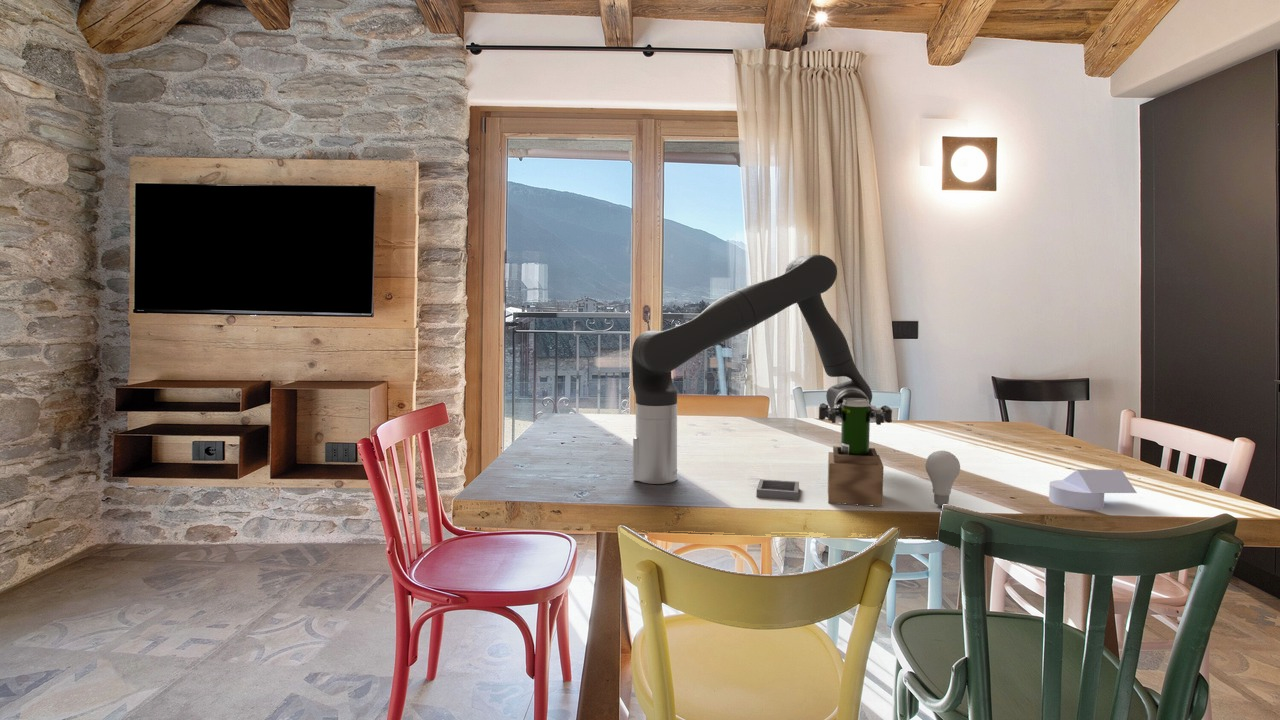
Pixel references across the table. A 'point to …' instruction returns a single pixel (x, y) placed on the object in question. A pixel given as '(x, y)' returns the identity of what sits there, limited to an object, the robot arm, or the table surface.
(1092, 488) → the wedge on round base
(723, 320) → the robot arm
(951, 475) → the lightbulb
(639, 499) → the table surface
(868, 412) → the beer can
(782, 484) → the charcoal holder
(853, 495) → the walnut stand
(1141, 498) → the table surface
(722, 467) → the table surface
